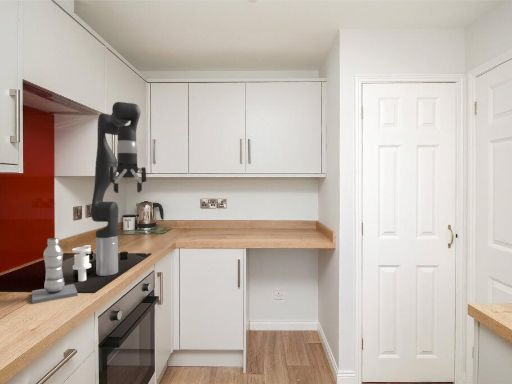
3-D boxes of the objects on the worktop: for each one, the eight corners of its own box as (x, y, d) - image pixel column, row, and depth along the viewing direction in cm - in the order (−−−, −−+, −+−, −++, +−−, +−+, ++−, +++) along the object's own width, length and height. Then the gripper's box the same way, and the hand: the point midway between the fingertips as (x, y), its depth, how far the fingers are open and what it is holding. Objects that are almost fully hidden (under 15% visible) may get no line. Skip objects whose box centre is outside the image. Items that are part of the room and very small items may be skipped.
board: (32, 293, 125) (31, 290, 124) (73, 286, 133) (73, 284, 132) (32, 303, 115) (32, 300, 115) (77, 295, 123) (77, 292, 123)
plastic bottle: (52, 295, 119) (51, 241, 119) (40, 293, 122) (38, 239, 121) (68, 289, 125) (67, 238, 125) (56, 287, 128) (55, 236, 127)
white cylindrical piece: (91, 281, 140) (91, 246, 139) (73, 283, 137) (72, 248, 136) (90, 276, 146) (90, 243, 146) (72, 279, 143) (72, 245, 142)
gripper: (142, 154, 139) (143, 192, 140) (106, 152, 131) (107, 192, 132) (147, 152, 133) (148, 192, 134) (110, 151, 125) (111, 193, 126)
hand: (127, 192), depth 133 cm, fingers open, 8 cm apart
